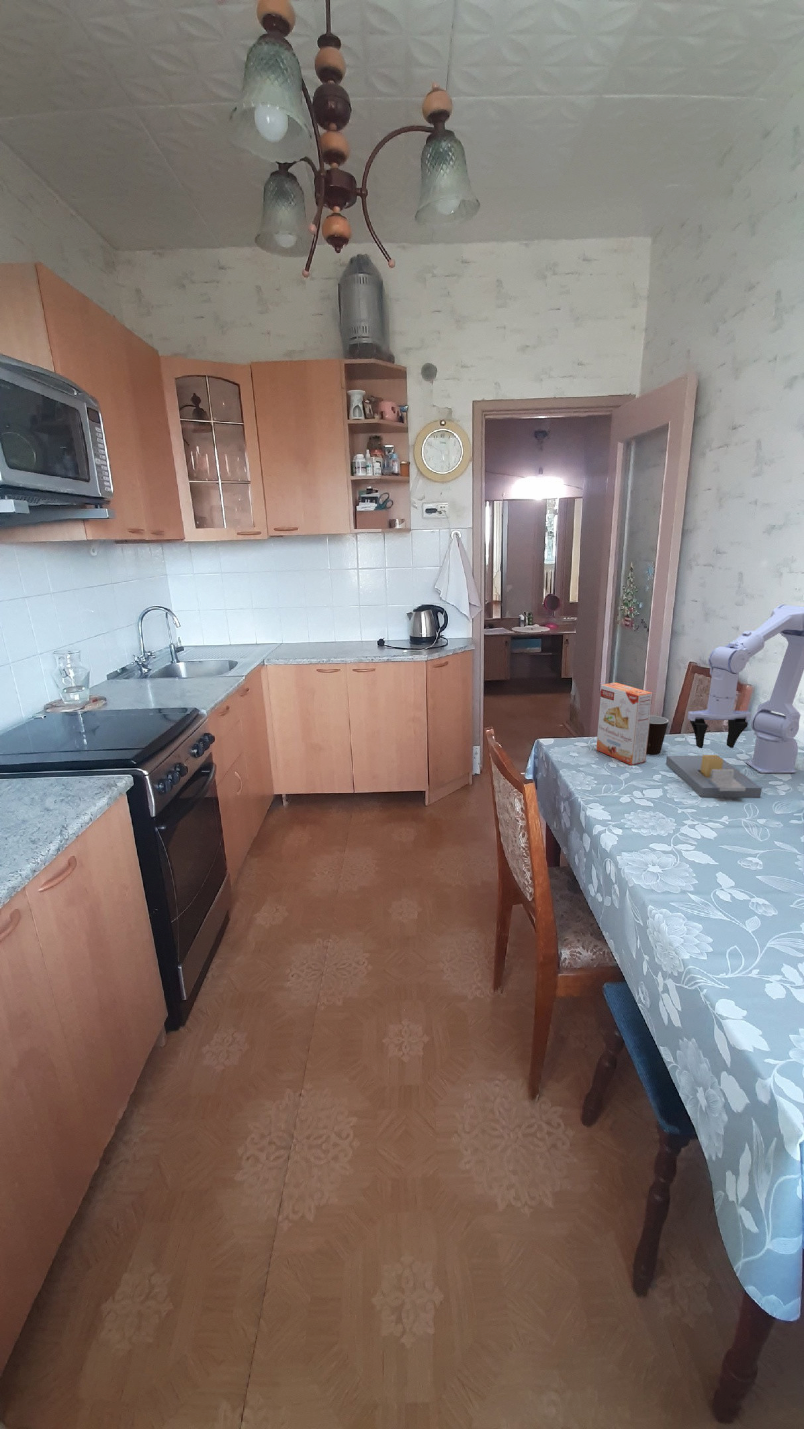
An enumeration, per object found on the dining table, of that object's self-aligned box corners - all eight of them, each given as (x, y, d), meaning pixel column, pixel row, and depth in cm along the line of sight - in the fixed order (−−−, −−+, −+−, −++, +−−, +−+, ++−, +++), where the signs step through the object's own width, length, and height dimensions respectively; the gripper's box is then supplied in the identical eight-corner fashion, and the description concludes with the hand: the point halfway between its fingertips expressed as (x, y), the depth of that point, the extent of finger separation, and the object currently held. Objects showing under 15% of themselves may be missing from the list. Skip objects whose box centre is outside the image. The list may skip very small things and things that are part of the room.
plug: (719, 785, 146) (723, 759, 144) (705, 785, 146) (709, 759, 144) (712, 779, 149) (716, 754, 147) (699, 779, 149) (702, 755, 147)
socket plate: (716, 763, 160) (718, 755, 159) (760, 797, 139) (761, 787, 138) (666, 763, 160) (667, 755, 160) (701, 797, 139) (702, 787, 139)
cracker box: (594, 750, 172) (600, 683, 166) (609, 747, 174) (615, 681, 168) (630, 766, 159) (637, 694, 153) (646, 762, 162) (654, 691, 156)
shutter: (732, 781, 142) (734, 769, 141) (745, 791, 136) (747, 778, 135) (707, 781, 142) (709, 769, 141) (719, 791, 136) (721, 778, 135)
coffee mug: (669, 755, 166) (673, 723, 163) (640, 756, 166) (643, 724, 163) (653, 742, 177) (657, 712, 174) (625, 743, 178) (628, 712, 175)
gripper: (743, 691, 144) (735, 741, 148) (685, 691, 145) (679, 741, 149) (758, 698, 138) (750, 750, 141) (697, 698, 138) (690, 751, 142)
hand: (714, 746), depth 145 cm, fingers open, 7 cm apart
